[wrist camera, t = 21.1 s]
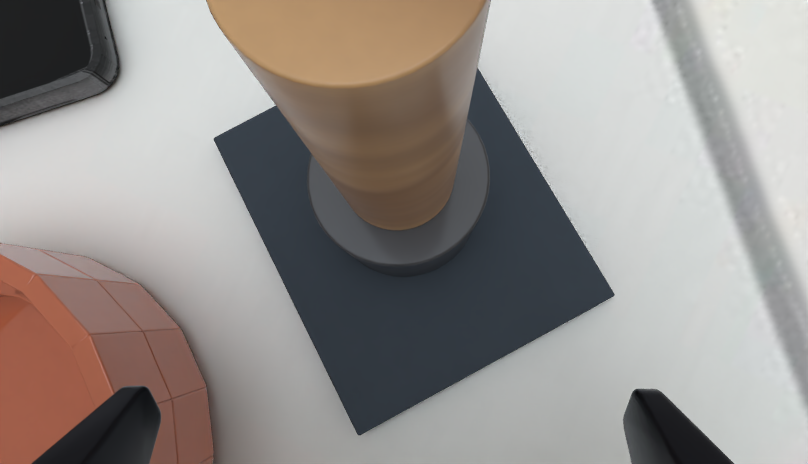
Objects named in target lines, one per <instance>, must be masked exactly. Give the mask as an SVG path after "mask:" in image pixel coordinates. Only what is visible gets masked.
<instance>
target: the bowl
mask: <svg viewBox="0 0 808 464" xmlns="http://www.w3.org/2000/svg"><path fill="white" fill-rule="evenodd" d="M124 386H146V387H148V388H149V390H150V391H151V393H152V395H153V397H154V399H155V401H156V403H157V405H158V407H159V409H160V411H161V424H160V428H159V431H158V435H157V438H156V442H155V445H154V449H153V452H152V456H151V460H150V463H149V464H212V463H213V458H214V456H213V454H214V449H213V440H212V431H211V422H210V412H209V403H208V394H207V388H206V387H207V386H206V383H205V381H204V379H203V377H202V374H201V372H200V370H199V368H198V365H197V363H196V361H195V359H194V356H193V354H192V352H191V350H190V347H189V345H188V343H187V341H186V338H185V336H184V334H183V332H182V330H181V329H180V327H179V326H178V325H177V324H176V323H175V322H174V320H173V319H172V318H171V317H170V316H169V315H168V314H167V313H166V312H165V311H164V310H163V309H162V308H161V306H160V305H159V304H158V303H157V302H156V301H155V300H154V299H153V298H152V297H151V296H150V295H149V294H148V292H147V291H146V290H145V289H144V288H143V287H142V286H141V285H139V283H137V282H135V281H133V280H131V279H129V278H127V277H125V276H123V275H121V274H119V273H118V272H116V271H114V270H112V269H110V268H108V267H106V266H104V265H102V264H100V263H98V262H96V261H94V260H93V259H91V258H88V257H84V256H78V255H72V254H66V253H60V252H53V251H47V250H41V249H34V248H29V247H22V246H16V245H10V244H4V243H0V464H31V463H32V462H34V461H35V460H36V459H37V458H38V457H40V456H41V455H42V454H43V453H44V452H45V451H47V450H48V449H49V448H50V447H51V446H53V445H54V444H55V443H56V442H57V441H58V440H60V439H61V438H62V437H63V436H64V435H66V434H67V433H68V432H69V431H70V430H71V429H73V428H74V427H75V426H76V425H77V424H79V423H80V422H81V421H82V420H83V419H85V418H86V417H87V416H88V415H89V414H90V413H92V412H93V411H94V410H95V409H96V408H98V407H99V406H100V405H101V404H102V403H103V402H105V401H106V400H107V399H108V398H109V397H111V396H112V395H113V394H114V393H115V392H116V391H118V390H119V389H120V388H122V387H124Z"/></svg>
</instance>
